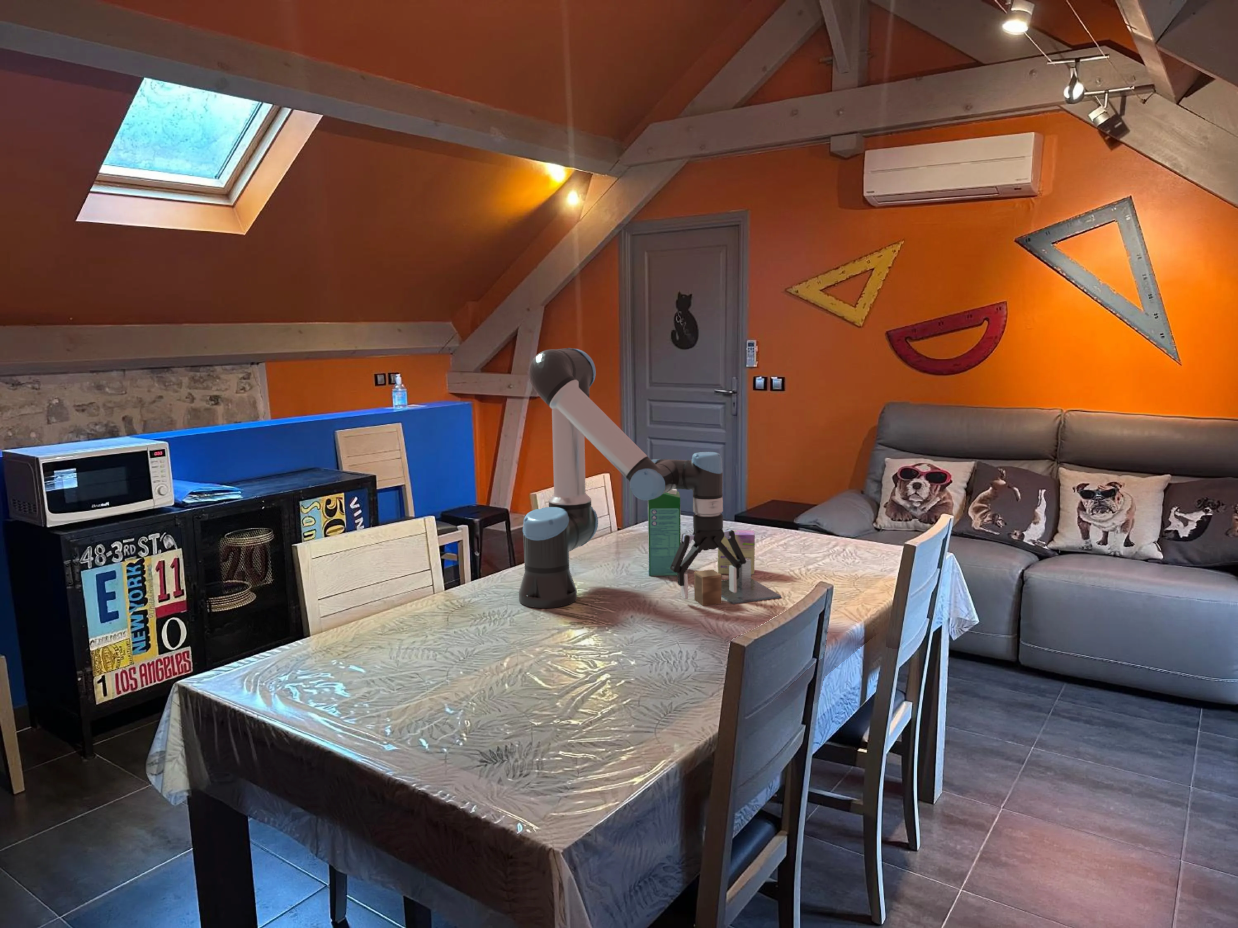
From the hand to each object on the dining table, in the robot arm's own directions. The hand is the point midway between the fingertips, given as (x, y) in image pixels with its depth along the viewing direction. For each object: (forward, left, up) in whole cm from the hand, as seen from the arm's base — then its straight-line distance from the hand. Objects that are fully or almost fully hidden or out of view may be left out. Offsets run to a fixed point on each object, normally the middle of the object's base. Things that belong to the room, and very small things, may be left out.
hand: (708, 594), depth 220 cm
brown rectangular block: (0, 0, -2) cm, 2 cm away
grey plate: (+12, +5, -2) cm, 13 cm away
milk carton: (0, +30, -2) cm, 30 cm away
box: (+19, +22, -2) cm, 29 cm away
